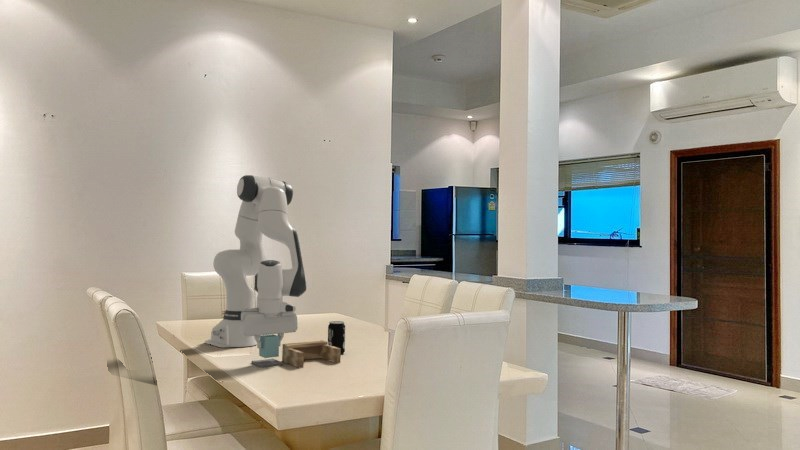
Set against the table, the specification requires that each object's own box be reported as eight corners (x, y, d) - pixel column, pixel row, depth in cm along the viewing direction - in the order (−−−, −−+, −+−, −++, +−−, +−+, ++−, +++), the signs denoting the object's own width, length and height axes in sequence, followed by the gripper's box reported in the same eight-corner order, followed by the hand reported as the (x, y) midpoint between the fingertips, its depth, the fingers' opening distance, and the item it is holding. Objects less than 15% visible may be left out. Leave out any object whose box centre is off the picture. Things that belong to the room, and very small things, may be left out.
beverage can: (341, 355, 220) (342, 323, 221) (325, 354, 222) (325, 322, 222) (346, 352, 227) (347, 321, 227) (330, 351, 228) (331, 320, 229)
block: (259, 355, 203) (259, 335, 204) (272, 354, 206) (272, 334, 207) (265, 358, 199) (265, 337, 200) (278, 356, 202) (279, 336, 203)
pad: (251, 363, 204) (251, 360, 204) (273, 360, 208) (273, 358, 208) (260, 367, 197) (260, 365, 197) (282, 364, 202) (282, 362, 202)
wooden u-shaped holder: (282, 360, 208) (282, 344, 209) (321, 356, 218) (322, 340, 218) (299, 367, 198) (299, 349, 198) (340, 362, 207) (340, 345, 207)
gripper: (244, 309, 195) (243, 351, 194) (299, 306, 207) (299, 345, 206) (237, 308, 200) (236, 348, 199) (291, 304, 212) (291, 343, 212)
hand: (268, 347), depth 203 cm, fingers closed on block, 5 cm apart
